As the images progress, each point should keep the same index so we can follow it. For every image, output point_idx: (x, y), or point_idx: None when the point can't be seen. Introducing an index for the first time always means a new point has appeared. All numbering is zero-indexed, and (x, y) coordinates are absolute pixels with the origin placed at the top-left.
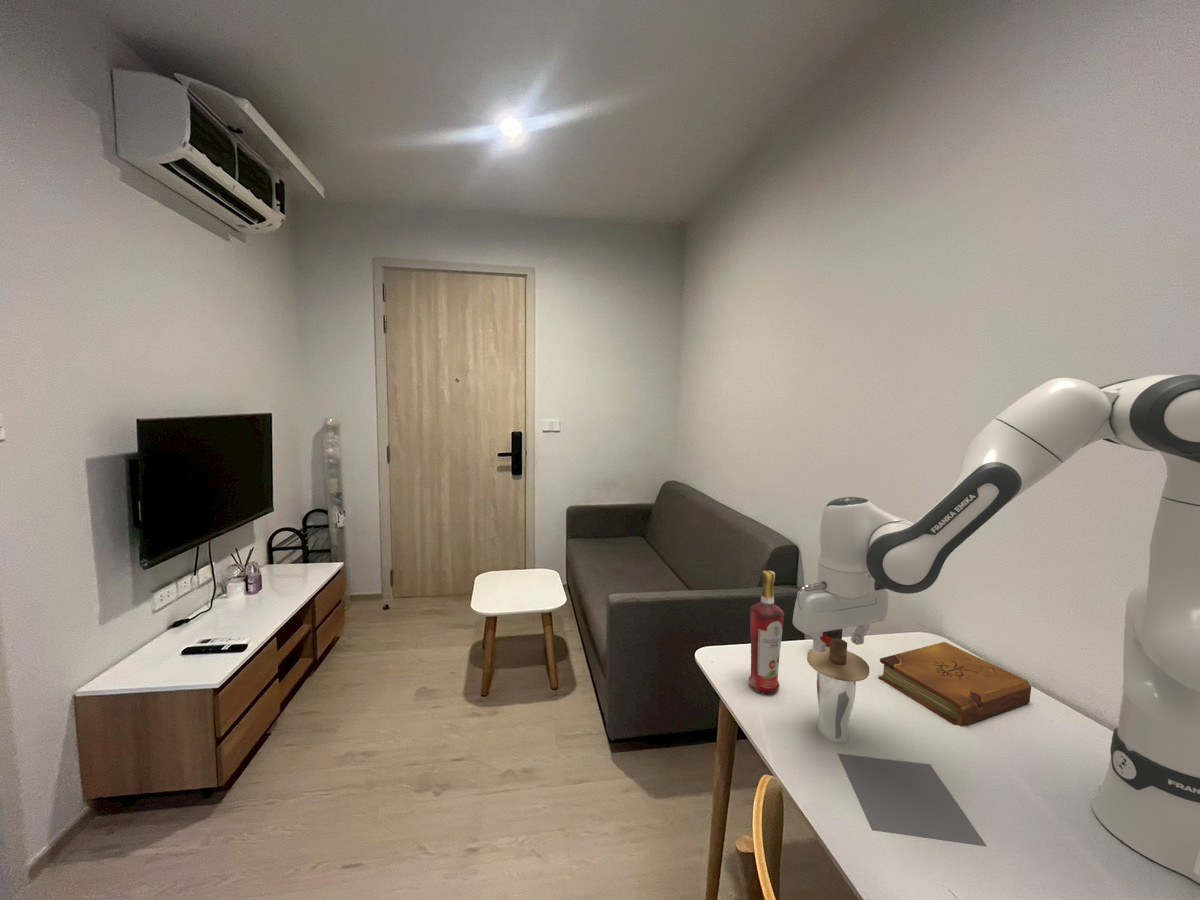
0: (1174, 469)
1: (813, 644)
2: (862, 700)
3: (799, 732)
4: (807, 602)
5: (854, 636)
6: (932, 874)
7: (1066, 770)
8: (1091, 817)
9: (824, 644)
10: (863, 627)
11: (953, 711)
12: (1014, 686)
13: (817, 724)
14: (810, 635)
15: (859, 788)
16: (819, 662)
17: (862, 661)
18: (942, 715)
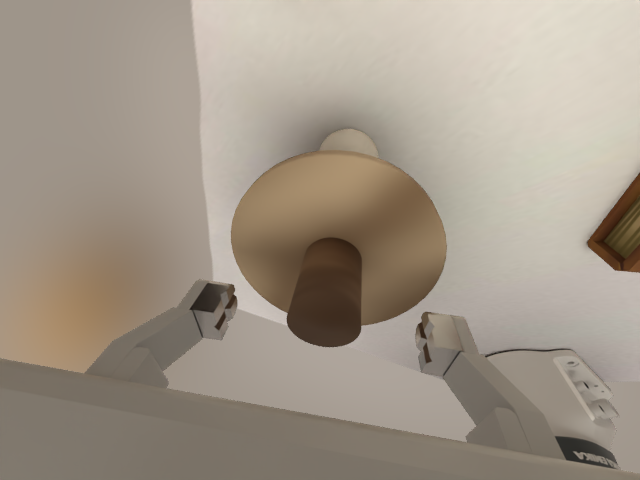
0: None
1: (188, 294)
2: (538, 97)
3: (289, 127)
4: None
5: (430, 349)
6: (279, 315)
7: (577, 330)
8: (490, 350)
9: (213, 337)
10: (467, 436)
11: (625, 240)
12: None
13: (325, 142)
14: (136, 330)
15: None
16: (262, 240)
17: (414, 294)
18: (612, 216)
